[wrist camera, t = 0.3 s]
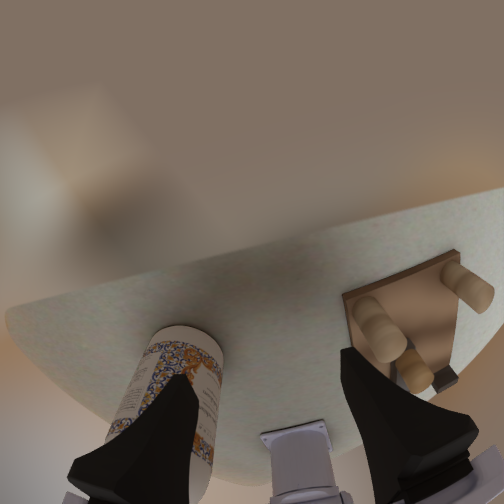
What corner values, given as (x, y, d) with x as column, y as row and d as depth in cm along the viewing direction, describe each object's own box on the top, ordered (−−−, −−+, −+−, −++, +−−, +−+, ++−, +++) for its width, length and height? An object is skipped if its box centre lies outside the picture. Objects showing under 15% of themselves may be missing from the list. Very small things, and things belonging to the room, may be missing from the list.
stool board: (444, 365, 25) (468, 398, 19) (359, 404, 26) (374, 445, 20) (454, 249, 20) (498, 276, 14) (342, 294, 21) (370, 341, 15)
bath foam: (236, 370, 24) (225, 583, 5) (174, 384, 24) (129, 563, 6) (203, 313, 22) (142, 577, 3) (137, 332, 22) (44, 530, 3)
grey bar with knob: (407, 384, 24) (425, 416, 19) (388, 393, 24) (404, 426, 19) (410, 335, 21) (435, 369, 16) (388, 344, 21) (411, 381, 17)
